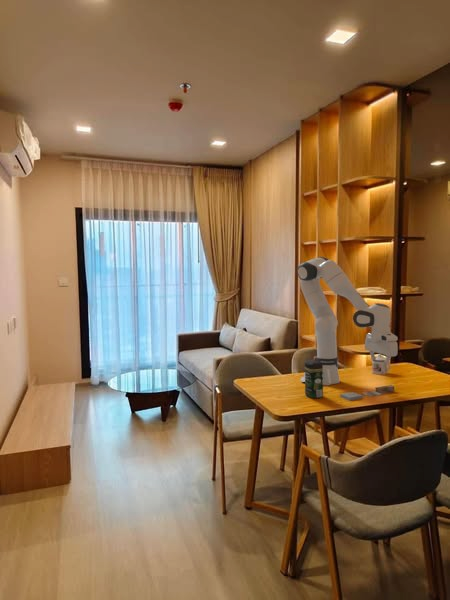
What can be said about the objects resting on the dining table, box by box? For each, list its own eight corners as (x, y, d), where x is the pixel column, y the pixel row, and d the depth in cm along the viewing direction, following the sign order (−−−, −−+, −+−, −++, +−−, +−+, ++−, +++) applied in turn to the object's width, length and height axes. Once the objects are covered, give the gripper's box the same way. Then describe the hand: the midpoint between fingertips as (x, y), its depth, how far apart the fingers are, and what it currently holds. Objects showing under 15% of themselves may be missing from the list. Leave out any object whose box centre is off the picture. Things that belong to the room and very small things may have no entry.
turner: (388, 389, 215) (388, 384, 215) (396, 392, 210) (396, 387, 210) (362, 394, 209) (362, 388, 209) (370, 397, 204) (370, 391, 204)
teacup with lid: (368, 372, 254) (368, 354, 253) (378, 370, 258) (378, 352, 258) (385, 376, 243) (385, 357, 243) (395, 374, 248) (394, 355, 247)
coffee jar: (302, 394, 212) (302, 359, 211) (316, 392, 214) (315, 357, 213) (311, 399, 202) (310, 362, 201) (325, 397, 204) (325, 361, 203)
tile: (353, 392, 208) (340, 394, 205) (362, 395, 201) (349, 397, 199) (353, 395, 208) (340, 397, 205) (362, 399, 202) (349, 401, 199)
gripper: (362, 332, 217) (361, 358, 218) (390, 338, 198) (389, 366, 199) (371, 332, 219) (370, 357, 220) (400, 337, 200) (399, 365, 201)
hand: (379, 361), depth 209 cm, fingers open, 8 cm apart
